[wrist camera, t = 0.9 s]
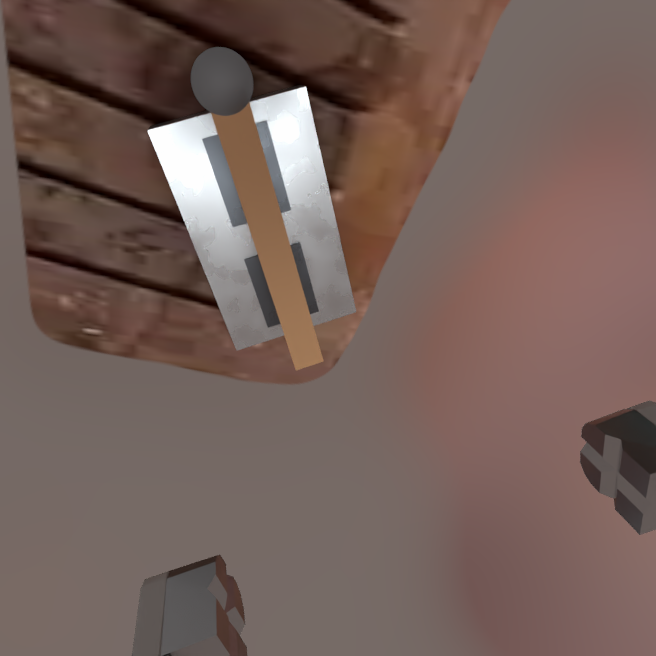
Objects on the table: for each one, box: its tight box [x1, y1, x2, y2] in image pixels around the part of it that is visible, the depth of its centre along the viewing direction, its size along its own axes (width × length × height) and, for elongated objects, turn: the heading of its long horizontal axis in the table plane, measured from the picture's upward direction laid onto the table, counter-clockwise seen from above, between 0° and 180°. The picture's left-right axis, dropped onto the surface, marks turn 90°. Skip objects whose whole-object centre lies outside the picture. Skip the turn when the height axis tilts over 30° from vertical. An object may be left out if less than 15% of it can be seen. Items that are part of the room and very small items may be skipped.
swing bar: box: [191, 47, 323, 370], centre depth 34 cm, size 23×4×2 cm, turn 13°
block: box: [147, 85, 356, 350], centre depth 38 cm, size 24×12×6 cm, turn 13°
